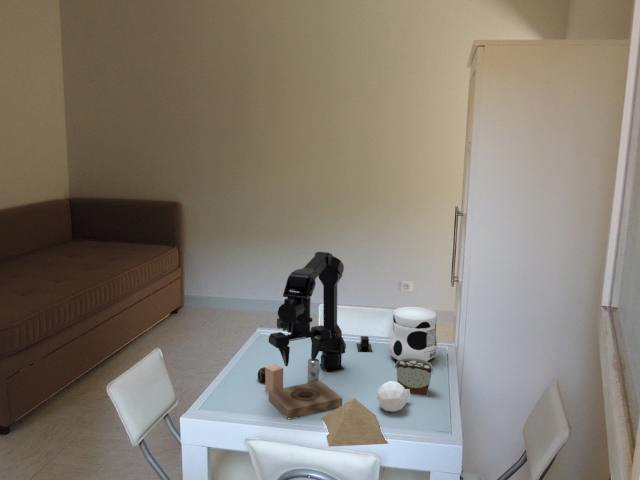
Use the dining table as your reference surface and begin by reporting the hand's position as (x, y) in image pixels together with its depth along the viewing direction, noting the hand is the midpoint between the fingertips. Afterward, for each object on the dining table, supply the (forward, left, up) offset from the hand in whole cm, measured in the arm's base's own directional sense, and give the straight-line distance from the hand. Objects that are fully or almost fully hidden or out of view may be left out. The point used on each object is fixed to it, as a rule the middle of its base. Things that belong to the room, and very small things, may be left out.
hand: (299, 363), depth 177 cm
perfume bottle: (-24, +17, -13) cm, 32 cm away
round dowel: (-10, -10, -12) cm, 19 cm away
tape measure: (+2, -19, -13) cm, 23 cm away
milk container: (-53, -13, -13) cm, 56 cm away
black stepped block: (-43, -31, -13) cm, 55 cm away
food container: (-37, +9, -13) cm, 40 cm away
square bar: (+4, -10, -13) cm, 16 cm away
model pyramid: (-6, +22, -13) cm, 26 cm away
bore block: (-1, +2, -12) cm, 13 cm away
